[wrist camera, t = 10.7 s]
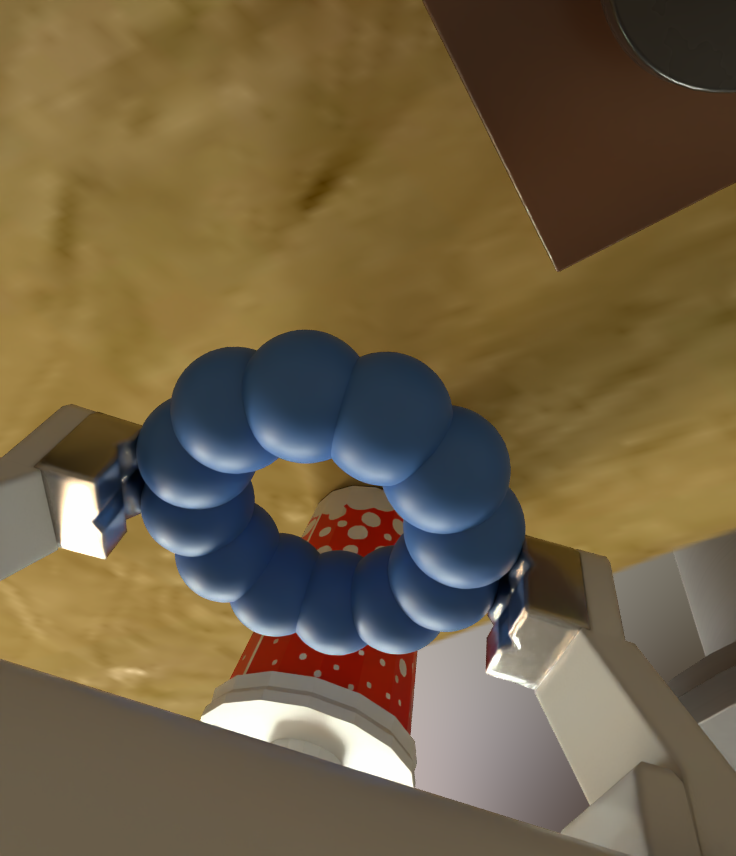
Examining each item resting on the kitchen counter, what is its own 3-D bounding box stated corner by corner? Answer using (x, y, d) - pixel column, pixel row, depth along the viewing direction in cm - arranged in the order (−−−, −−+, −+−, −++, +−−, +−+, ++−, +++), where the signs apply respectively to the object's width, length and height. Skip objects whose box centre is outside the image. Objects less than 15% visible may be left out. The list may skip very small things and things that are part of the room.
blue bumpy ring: (587, 547, 10) (601, 642, 9) (307, 620, 14) (280, 700, 12) (392, 224, 8) (362, 276, 6) (100, 408, 11) (30, 474, 9)
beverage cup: (359, 597, 25) (236, 1057, 14) (265, 506, 23) (30, 962, 12) (477, 554, 22) (442, 1098, 11) (381, 444, 20) (214, 979, 9)
